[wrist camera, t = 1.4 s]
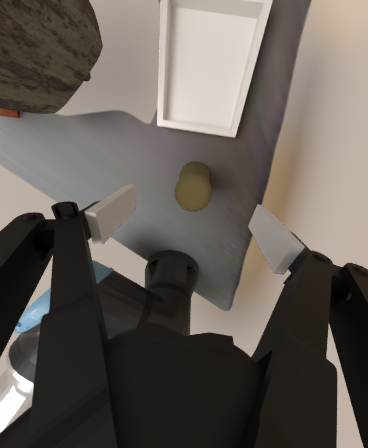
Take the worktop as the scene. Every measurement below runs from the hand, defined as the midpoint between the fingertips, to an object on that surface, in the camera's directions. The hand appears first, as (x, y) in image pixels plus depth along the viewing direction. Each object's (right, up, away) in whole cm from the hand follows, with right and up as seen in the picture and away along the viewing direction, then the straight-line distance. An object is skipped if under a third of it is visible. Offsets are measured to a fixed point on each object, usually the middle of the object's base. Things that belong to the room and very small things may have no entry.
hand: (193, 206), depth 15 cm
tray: (+2, +19, +5) cm, 20 cm away
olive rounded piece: (+1, +7, +13) cm, 15 cm away
